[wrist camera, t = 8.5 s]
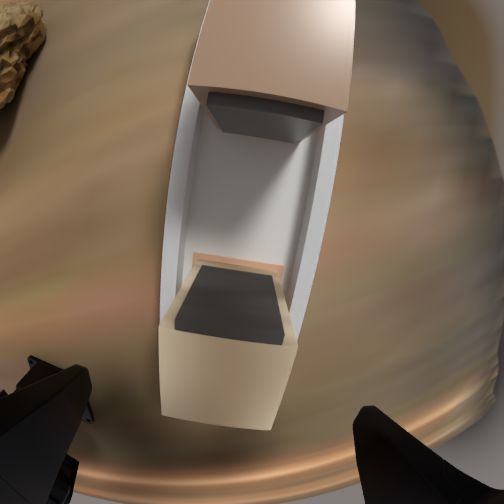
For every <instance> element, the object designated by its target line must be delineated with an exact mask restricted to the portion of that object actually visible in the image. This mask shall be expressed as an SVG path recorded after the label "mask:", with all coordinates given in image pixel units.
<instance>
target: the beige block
mask: <svg viewBox="0 0 504 504" xmlns="http://www.w3.org/2000/svg"><path fill="white" fill-rule="evenodd" d="M297 349H298V345H297V341H296V337H295V333H294V330H293V326H292V322H291V319H290V315H289V312H288V308H287V304H286V301H285V297H284V294H283V290H282V286H281V283H280V279H279V276H278V272H277V271H275V270H268V269H262V268H255V267H248V266H242V265H235V264H229V263H222V262H216V261H209V260H203V259H198V260H197V261H196V263H195V265H194V266H193V268H192V270H191V271H190V273H189V275H188V276H187V278H186V280H185V282H184V283H183V285H182V287H181V288H180V290H179V292H178V293H177V295H176V297H175V299H174V300H173V302H172V304H171V306H170V307H169V309H168V311H167V313H166V314H165V316H164V318H163V320H162V321H161V323H160V325H159V376H160V396H161V411H162V415H164V416H168V417H173V418H178V419H183V420H188V421H194V422H199V423H206V424H212V425H219V426H227V427H236V428H246V429H257V430H271V428H272V425H273V422H274V419H275V417H276V414H277V411H278V408H279V405H280V402H281V399H282V397H283V394H284V391H285V388H286V384H287V381H288V378H289V375H290V372H291V369H292V366H293V363H294V359H295V356H296V353H297Z"/></svg>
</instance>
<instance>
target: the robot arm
mask: <svg viewBox="0 0 504 504" xmlns="http://www.w3.org/2000/svg"><path fill="white" fill-rule="evenodd" d="M27 360H28V363H29V366H30V370H29V372H28V373H27V374H26V375H25V376H24V377H23V378H22V379H21V380H20V381H19V383H18V384H17V385H16V390H15V391H14V392H13V393H11V394H9V395H8V394H7V393H6V392H5V390H4V389H3V390H2V391H1V392H0V504H69V503H70V500H71V498H72V494H73V489H74V484H75V479H76V474H77V470H78V465H79V462H78V461H77V460H76V459H74V458H72V457H71V456H69V455H68V454H67V451H68V449H69V447H70V444H71V442H72V440H73V438H74V436H75V434H76V432H77V429H78V427H79V425H80V422H81V420H83V421H85V422H88V423H90V424H92V423H93V421H94V418H93V415H92V412H91V409H90V406H89V403H88V399H89V397H90V394H91V391H92V384H91V380H90V376H89V371H88V369H87V368H86V367H83V366H81V365H77V364H76V365H73V366H71V367H69V368H67V369H65V370H63V369H60V368H58V367H55V366H53V365H51V364H49V363H46V362H44V361H42V360H40V359H38V358H36V357H33V356H31V355H30V356H29V357H28V358H27ZM353 435H354V443H355V453H356V461H357V467H358V472H359V476H360V481H361V485H362V490H363V495H364V500H365V504H504V490H499V489H494V488H491V487H489V486H487V485H485V484H483V483H481V482H480V481H478V480H476V479H474V478H472V477H470V476H469V475H467V474H465V473H463V472H462V471H460V470H459V469H457V468H455V467H454V466H453V465H451V464H450V463H448V462H447V461H446V460H443V459H442V458H441V457H440V456H439V455H437V454H436V453H435V452H433V451H432V450H431V449H429V448H428V447H427V446H425V445H424V444H423V443H421V442H420V441H419V440H418V439H416V438H415V437H414V436H412V435H411V434H410V433H408V432H407V431H406V430H405V429H403V428H402V427H401V426H399V425H398V424H397V423H396V422H394V421H393V420H392V419H391V418H389V417H388V416H387V415H386V414H384V413H383V412H382V411H381V410H379V409H378V408H377V407H375V406H363V407H362V408H361V410H360V411H359V413H358V415H357V417H356V418H355V420H354V422H353Z"/></svg>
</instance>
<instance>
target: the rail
mask: <svg viewBox="0 0 504 504" xmlns="http://www.w3.org/2000/svg"><path fill="white" fill-rule="evenodd" d="M354 29H355V0H210V1H209V4H208V7H207V11H206V14H205V17H204V20H203V24H202V27H201V30H200V34H199V37H198V41H197V45H196V48H195V52H194V56H193V60H192V64H191V68H190V72H189V76H188V81H187V85H186V90H185V94H184V99H183V104H182V109H181V114H180V119H179V124H178V130H177V136H176V142H175V148H174V154H173V161H172V168H171V175H170V182H169V190H168V199H167V208H166V217H165V228H164V240H163V253H162V269H161V291H160V323H161V321H162V320H163V318H164V316H165V314H166V313H167V311H168V309H169V307H170V306H171V304H172V302H173V300H174V299H175V297H176V295H177V293H178V292H179V290H180V288H181V287H182V285H183V283H184V282H185V280H186V278H187V276H188V275H189V273H190V271H191V270H192V268H193V266H194V265H195V263H196V261H197V260H198V259H203V260H209V261H216V262H222V263H229V264H235V265H242V266H248V267H255V268H262V269H268V270H275V271H277V272H278V276H279V279H280V283H281V286H282V290H283V294H284V297H285V301H286V304H287V308H288V312H289V315H290V319H291V322H292V326H293V330H294V333H295V337H296V341H297V340H298V336H299V332H300V329H301V325H302V322H303V318H304V314H305V310H306V307H307V303H308V299H309V295H310V291H311V287H312V283H313V279H314V274H315V270H316V266H317V262H318V257H319V253H320V248H321V244H322V239H323V235H324V230H325V225H326V220H327V215H328V210H329V205H330V200H331V194H332V189H333V183H334V177H335V172H336V166H337V159H338V153H339V147H340V140H341V133H342V126H343V118H344V113H346V112H347V110H348V102H349V93H350V83H351V73H352V61H353V47H354Z"/></svg>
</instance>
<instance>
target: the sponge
mask: <svg viewBox="0 0 504 504" xmlns="http://www.w3.org/2000/svg"><path fill="white" fill-rule="evenodd" d="M42 16H43V11H42V10H41V8H40V7H39V6H38V5H36V4H34V3H31V2H30V3H29V2H22V3H21V2H17V3H10V4H4V5H2V6H0V110H1V109H2V108H3V107H4V106H5V103H10V102H11V101H12V99H13V98H14V94H15V91H16V89H17V87H18V85H19V83H20V81H21V79H22V77H23V75H24V73H25V71H26V69H25V68H26V67H27V64H26V63H25V61H26V60H28V59H29V58H31V56H32V54H33V53H34V52H35V51H36V50H37V49H38V48H39V47H40V45H41V44H42V43H43V42H44V40H45V35H46V31H47V28H46V21H44V22H43V21H42V20H41V18H42Z"/></svg>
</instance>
